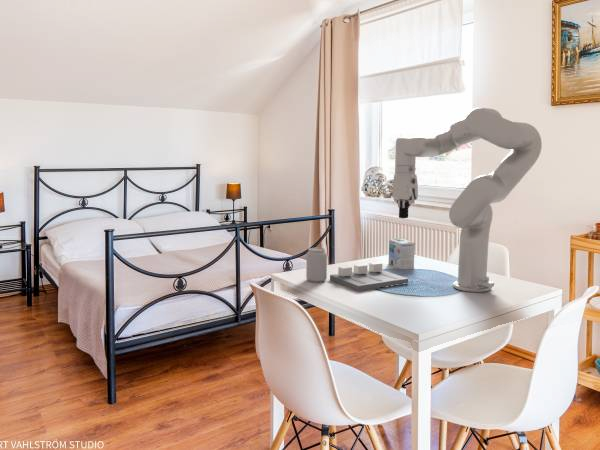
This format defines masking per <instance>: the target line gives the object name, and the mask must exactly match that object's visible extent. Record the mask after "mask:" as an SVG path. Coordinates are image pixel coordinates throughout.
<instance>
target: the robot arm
mask: <svg viewBox="0 0 600 450" xmlns="http://www.w3.org/2000/svg"><path fill="white" fill-rule="evenodd" d="M481 139H482V140H484V141H486V142H488V143H490V144H493V145H494V146H496V147H498V148H501V149H504V150H511V151H510V152H509V153H508V154H507V155H506V156H505V157H504V158H503V159H502V160H501V161H500V163H499V164H498V165H497V166H496V167H495V169H493V171H491V173H489V174H482V175H479V176H476V177H475V178H473V180H472V181H470V182H469V183H468V185H467V186H466V187H465V188H463V190H462V192H461V193H460V194H459V195H458V197H457V198H456V200H454V202H453V203H452V205H451V206H450V209H449V212H448V218H449V220H450V223H452V225H454V226H455V227H456V228H458V229H459V228H460V229H461V230H460V235H459V250H458V251H459V252H458V269H457V270H458V271H457V280H455V281H453V283H452V287H453V288H454V289H457V290H458V291H463V292H470V293H483V292H484V293H485V292H488V291H491V289H492V288H493V287H494V286H495V282H493V281H492V282H491V281H490V277H489V276H487V273H488V255H489V245H490V244H489V243H490V242H489V239H490V232H491V231H490V230H491V225H492V220H493V216H494V215H493V207H492V205H491V204H496V203H501V202H502V201H504V200H505V199H506V198H508V196H509V194H511V192H512V191H513V190H514V188H515V187H517V185H518V184H519V183H520V182H521V181H522V179H523V178H524V177H525V175H526V174H528V172H529V171H530V170H531V169H532V168H533V166H534V165H535V164H536V162H537V160H538V159H539V157H540V154H541V152H542V144H543V142H542V138H541V135H540V133H539V131H538V129H537V128H536V127H535V126H533V125H532V124H529V123H527V122H519V121H517V122H516V121H512V120H509V119H507V118H505V117H503V115H502V114H501V113H500V112H499V111H498V110H496V109H493V108H487V107H476V108H473V109H472V110H470V111H469V112H468V113H467V115H466V116H465V117H464V118H461V119H459V120H455V121H454V122H452V123H451V124H450V127H449V129H448V130H447V131H444V132H441V133H440V134H436V135H433V136H428V135H427V136H426V135H425V136H422V135H421V136H420V135H419V136H418V135H417V136H411V137H410V136H409V137H408V136H400V137H397V138H396V140H395V156H394V158H395V160H394V161H395V162H394V165H395V166H394V174H393V180H392V191H391V192H392V193H391V194H392V198H393V202H395V203H397V207H398V208H399V209H398V218H399V219H408V218H409V208H410V207H411V205H413V204H415V201H416V200H418V196H419V189H418V188H419V184H418V176H417V174H416V158H427V157H429V158H434V157H438V156H440V155H445V154H446V153H450V152H452V151H453V150H456V149H458V148H460V147H462V146H463V145H466V144H469V143H471V142H476V141H478V140H481Z"/></svg>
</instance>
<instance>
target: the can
mask: <svg viewBox="0 0 600 450" xmlns="http://www.w3.org/2000/svg"><path fill="white" fill-rule="evenodd" d="M327 260H328V253H327V251H326V249H325V248H323V247H309V248H308V249H307V252H306V274H305V275H306V276H305V278H306V279H307V280H308V282H311V283H323V282H325V281H326V280H327V279H328V278H327V277H328V276H327V275H328V273H327V268H328V265H327V264H328V263H327V262H328V261H327Z"/></svg>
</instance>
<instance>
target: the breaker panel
mask: <svg viewBox="0 0 600 450" xmlns="http://www.w3.org/2000/svg"><path fill="white" fill-rule="evenodd" d="M337 270H338V271H337V272H338V273H333V274H330V275H329V281H332V282H334V283H336V284H339V285H341V286H344V287H346V288H348V289H351V290H353V291H355V292H357V293H358V292H364V291H371V290H377V289H376V288H378V289H381V288H380V287H385V288H387V287H386V286H391V285H396V284H403V283H408V284H409V278H408V277H405V276H401V275H399V274H396V273H392V272H390V271H386V270H383V263H382V262H379V261H376V262H368V269H367V273H365V274H356V273H354V271H353V267H352V266H349V265H342V266H338V269H337ZM391 287H392V286H391Z"/></svg>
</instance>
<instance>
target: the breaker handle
mask: <svg viewBox="0 0 600 450" xmlns="http://www.w3.org/2000/svg"><path fill="white" fill-rule="evenodd" d="M367 270H368V265H367V264H364V263H358V264H354V265H353V272H354V273H356V274H365V273H367Z"/></svg>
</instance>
